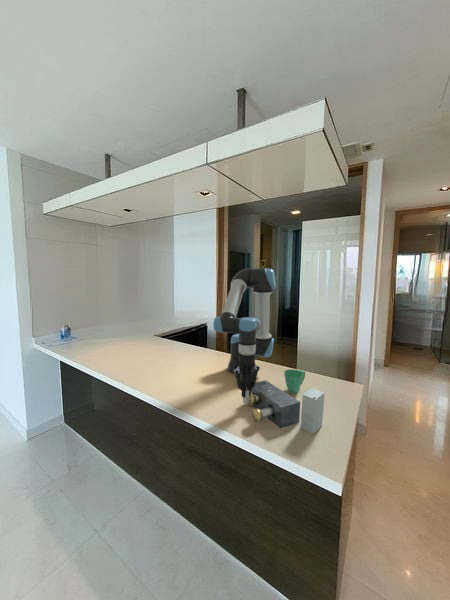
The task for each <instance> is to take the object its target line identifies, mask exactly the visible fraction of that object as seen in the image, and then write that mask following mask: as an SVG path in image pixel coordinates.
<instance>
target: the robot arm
mask: <svg viewBox="0 0 450 600" xmlns="http://www.w3.org/2000/svg"><path fill="white" fill-rule="evenodd" d="M247 289H252V293H254V295H255V297H254V298H255V301H254V302H255V303H254V304H255V309H254V311H255V313H254V315H255V316H254V317H249V316H248V317H237V315H238V313H239V309H240V305H241V302H242V299H243V296H244V295H243V294H244V292H245V291H246V290H247ZM275 289H276V275H275V271H274V269H272V268H263V267H262V268H261V267H260V268H257V267H256V268H249V267H248V268H244V269H242V270H240V271H238V272H237V273H236V274H235V275H234V276H233V277H232V279H231V281H230V289H229V292H228V295H227V298H226V300H225V303H224V306H223V309H222V312H221V314H220V316H215V317H214V319H213V330H214V331H215V332H217V333H222V334H223V333H225V334H227V333H228V334H232V336H231V338H230V359H229V361H228V364H227V371H228V372H229V373H231V374H234V376H235V381H236V385H237V386H236V387H237V389H239V391H240V392H241V397H242V403H243V404H244V405H246V406H247V405H248V404H249V396H250V391H251V390H252V389H251V388H254V386H255V383H256V382H257V381H256V380H257V378H258V377H257V376H258V373H259V371H260V366H259V365H257V364H256V357H261V358H270V357H272V353H273V349H274V343H275V342H274V341H275V339H274V337H272V334H271V333H270V314H271V312H270V311H271V309H270V307H271V294H273V292H274V290H275ZM248 406H249V405H248Z"/></svg>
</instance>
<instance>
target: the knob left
mask: <svg viewBox="0 0 450 600" xmlns="http://www.w3.org/2000/svg"><path fill="white" fill-rule="evenodd" d="M258 400H259V396H258V395H257V394H255V395H254V394H252V393H251V394H250V396H249V404H248V406H250V407H251V406H252V407H253V405H255V404H256V402H258Z"/></svg>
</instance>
